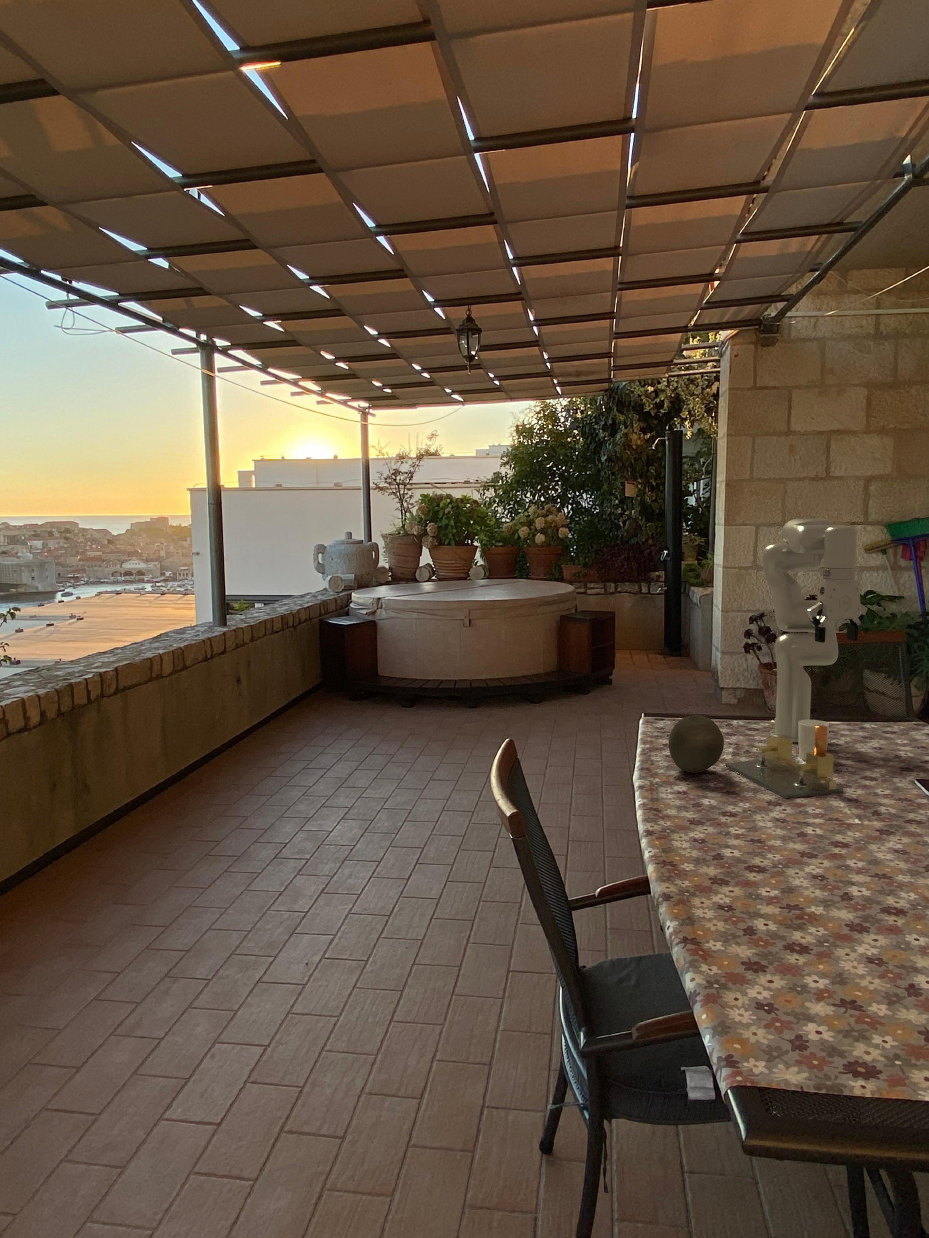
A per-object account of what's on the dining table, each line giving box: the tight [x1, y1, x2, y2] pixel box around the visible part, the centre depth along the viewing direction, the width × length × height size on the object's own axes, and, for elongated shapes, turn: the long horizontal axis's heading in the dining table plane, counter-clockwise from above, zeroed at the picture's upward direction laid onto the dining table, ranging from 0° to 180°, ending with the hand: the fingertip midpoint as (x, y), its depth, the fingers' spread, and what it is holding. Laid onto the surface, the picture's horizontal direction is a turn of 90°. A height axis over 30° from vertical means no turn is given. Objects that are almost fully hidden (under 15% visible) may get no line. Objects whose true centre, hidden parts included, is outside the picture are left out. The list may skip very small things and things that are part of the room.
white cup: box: [798, 719, 830, 761], centre depth 229 cm, size 8×8×10 cm
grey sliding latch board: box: [724, 736, 844, 799], centre depth 212 cm, size 26×16×8 cm, turn 15°
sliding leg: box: [797, 725, 835, 783], centre depth 204 cm, size 4×8×14 cm, turn 105°
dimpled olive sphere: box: [668, 715, 725, 774], centre depth 218 cm, size 14×14×15 cm
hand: (836, 640), depth 215 cm, fingers open, 9 cm apart
